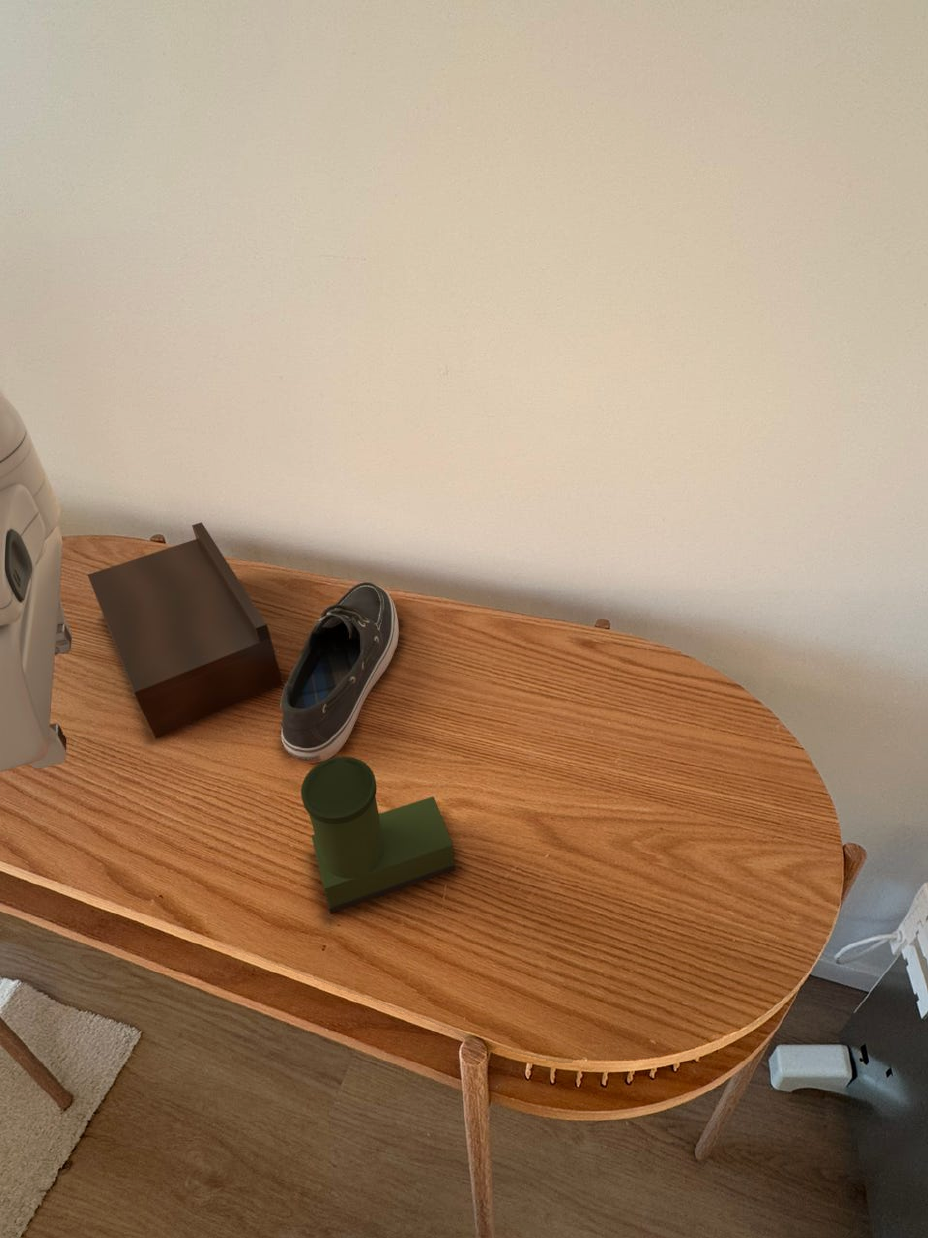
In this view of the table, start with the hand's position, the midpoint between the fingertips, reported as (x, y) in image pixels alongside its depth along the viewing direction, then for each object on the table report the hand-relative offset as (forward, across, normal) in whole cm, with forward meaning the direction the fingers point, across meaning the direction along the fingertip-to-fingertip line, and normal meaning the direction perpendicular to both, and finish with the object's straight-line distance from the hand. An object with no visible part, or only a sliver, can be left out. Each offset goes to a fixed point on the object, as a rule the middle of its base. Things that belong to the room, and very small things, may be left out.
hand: (55, 698), depth 44 cm
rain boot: (+26, +3, +18) cm, 32 cm away
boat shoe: (+26, -21, +20) cm, 39 cm away
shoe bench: (+26, -32, +4) cm, 41 cm away
